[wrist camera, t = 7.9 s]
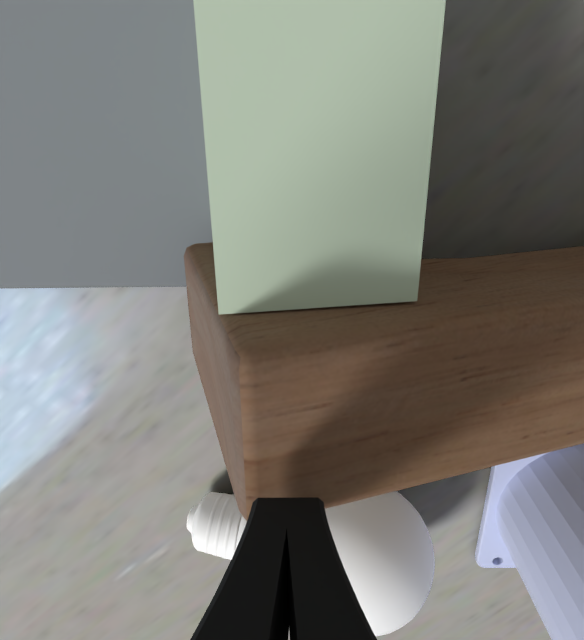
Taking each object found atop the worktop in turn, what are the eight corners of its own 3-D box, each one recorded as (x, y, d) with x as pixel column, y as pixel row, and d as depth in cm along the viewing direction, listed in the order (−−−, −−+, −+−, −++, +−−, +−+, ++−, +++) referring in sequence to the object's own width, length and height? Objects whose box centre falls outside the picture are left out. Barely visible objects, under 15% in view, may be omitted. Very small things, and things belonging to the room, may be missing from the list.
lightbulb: (145, 593, 18) (448, 663, 16) (193, 433, 21) (453, 481, 19) (183, 591, 23) (414, 644, 22) (217, 464, 26) (422, 504, 25)
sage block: (341, -24, 15) (460, -158, 8) (336, 228, 18) (417, 301, 11) (197, -28, 14) (179, -177, 7) (217, 233, 18) (218, 314, 10)
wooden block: (181, 242, 17) (583, 211, 22) (192, 356, 18) (562, 303, 23) (232, 354, 9) (847, 264, 14) (243, 538, 10) (785, 397, 15)
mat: (252, -109, 14) (251, -115, 14) (266, 282, 19) (266, 285, 18) (-219, -98, 14) (-233, -104, 14) (-87, 285, 19) (-95, 289, 18)
